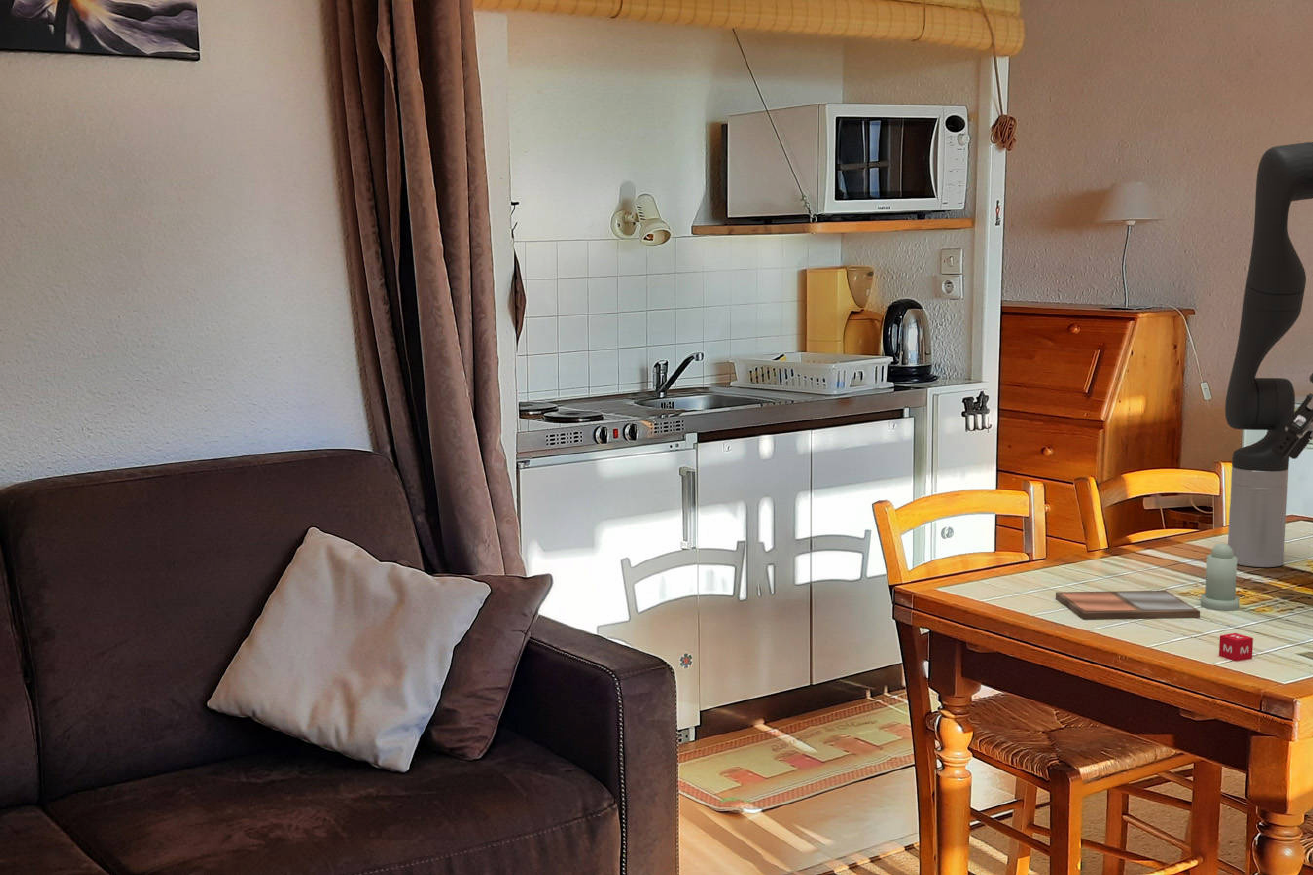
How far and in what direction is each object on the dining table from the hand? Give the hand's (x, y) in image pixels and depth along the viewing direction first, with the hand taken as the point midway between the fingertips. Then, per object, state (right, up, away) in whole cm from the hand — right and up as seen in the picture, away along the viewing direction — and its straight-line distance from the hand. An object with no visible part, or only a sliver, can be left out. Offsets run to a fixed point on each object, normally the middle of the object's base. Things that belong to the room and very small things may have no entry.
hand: (1282, 455), depth 208 cm
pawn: (-7, -24, +6) cm, 26 cm away
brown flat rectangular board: (-22, -24, +5) cm, 33 cm away
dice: (-16, -28, -21) cm, 39 cm away
